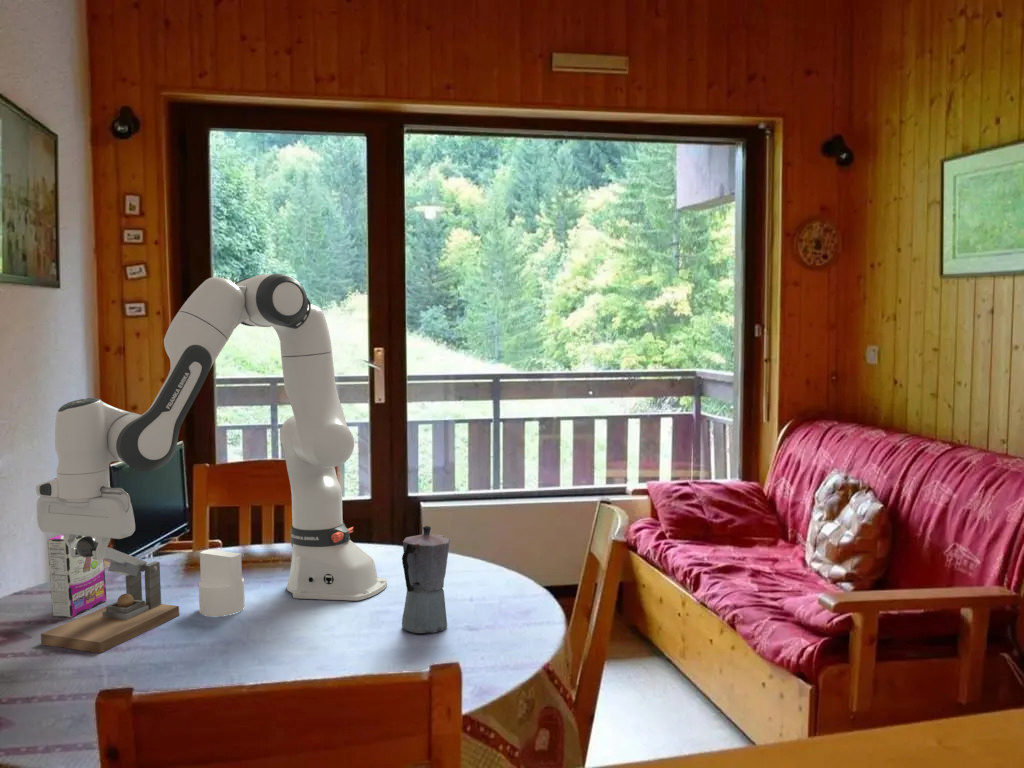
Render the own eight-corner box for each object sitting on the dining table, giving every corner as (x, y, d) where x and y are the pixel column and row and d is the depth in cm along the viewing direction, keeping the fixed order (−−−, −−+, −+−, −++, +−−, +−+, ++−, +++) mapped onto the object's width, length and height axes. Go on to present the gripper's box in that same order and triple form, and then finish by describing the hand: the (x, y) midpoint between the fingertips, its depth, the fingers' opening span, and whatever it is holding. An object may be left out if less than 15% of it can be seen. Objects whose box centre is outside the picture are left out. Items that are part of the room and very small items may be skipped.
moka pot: (462, 617, 177) (461, 520, 175) (430, 645, 162) (429, 539, 161) (419, 613, 180) (418, 517, 178) (384, 639, 165) (382, 535, 164)
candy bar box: (86, 599, 190) (83, 525, 188) (107, 601, 189) (104, 526, 187) (49, 617, 179) (46, 538, 177) (71, 618, 178) (67, 539, 176)
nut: (137, 607, 175) (136, 592, 175) (126, 611, 173) (125, 597, 172) (125, 605, 176) (124, 590, 176) (114, 610, 174) (113, 595, 173)
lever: (143, 579, 176) (150, 557, 178) (84, 558, 162) (92, 534, 163) (127, 577, 177) (134, 555, 179) (67, 556, 163) (75, 532, 165)
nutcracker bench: (179, 615, 179) (177, 563, 178) (100, 653, 159) (97, 594, 158) (124, 608, 184) (122, 557, 183) (41, 644, 164) (38, 586, 163)
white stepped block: (253, 605, 185) (252, 550, 184) (223, 619, 177) (221, 561, 176) (221, 600, 189) (219, 545, 188) (189, 613, 181) (187, 556, 180)
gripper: (141, 485, 163) (144, 557, 165) (56, 479, 170) (60, 549, 171) (115, 492, 157) (119, 567, 159) (28, 486, 164) (32, 558, 165)
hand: (88, 557), depth 165 cm, fingers open, 4 cm apart
